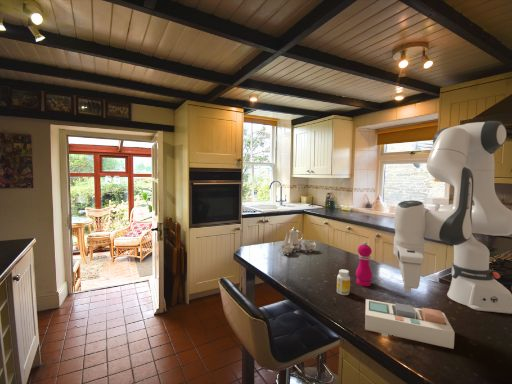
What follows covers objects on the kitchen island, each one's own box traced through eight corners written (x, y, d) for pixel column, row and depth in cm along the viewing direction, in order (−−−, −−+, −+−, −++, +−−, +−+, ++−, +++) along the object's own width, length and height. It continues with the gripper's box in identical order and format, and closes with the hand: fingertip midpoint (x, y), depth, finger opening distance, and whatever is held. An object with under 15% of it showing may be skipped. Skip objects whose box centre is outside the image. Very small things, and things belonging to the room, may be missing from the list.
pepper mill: (373, 287, 119) (375, 244, 118) (356, 286, 120) (358, 243, 119) (369, 281, 126) (371, 240, 125) (354, 279, 127) (355, 239, 126)
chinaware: (285, 260, 162) (287, 234, 159) (271, 250, 176) (272, 226, 174) (319, 254, 175) (322, 230, 173) (303, 245, 190) (305, 223, 187)
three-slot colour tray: (442, 327, 88) (443, 312, 87) (453, 348, 77) (454, 331, 76) (365, 312, 97) (365, 298, 97) (365, 329, 86) (365, 314, 86)
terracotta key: (440, 319, 86) (440, 310, 86) (444, 327, 81) (445, 318, 81) (421, 316, 88) (422, 307, 88) (424, 324, 83) (425, 314, 83)
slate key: (412, 314, 89) (412, 305, 89) (414, 322, 84) (415, 313, 84) (394, 311, 91) (395, 302, 91) (396, 318, 86) (396, 309, 86)
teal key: (385, 313, 92) (386, 305, 92) (386, 321, 87) (387, 312, 87) (369, 310, 94) (370, 302, 94) (369, 317, 89) (370, 309, 89)
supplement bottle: (334, 292, 113) (335, 270, 113) (340, 288, 117) (340, 267, 117) (346, 296, 110) (347, 274, 109) (351, 292, 114) (352, 270, 113)
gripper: (395, 241, 97) (394, 277, 98) (400, 257, 79) (399, 302, 80) (415, 243, 95) (413, 280, 96) (425, 260, 76) (423, 306, 77)
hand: (407, 290), depth 87 cm, fingers closed
